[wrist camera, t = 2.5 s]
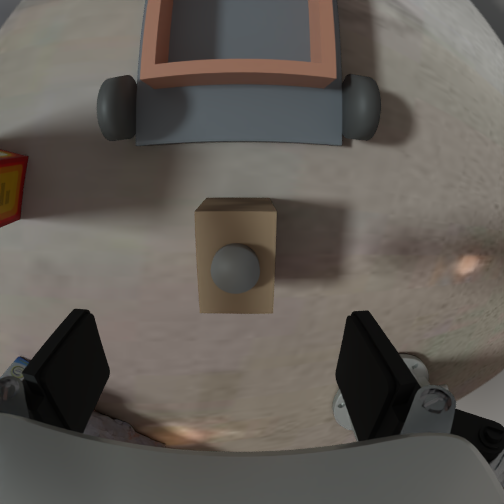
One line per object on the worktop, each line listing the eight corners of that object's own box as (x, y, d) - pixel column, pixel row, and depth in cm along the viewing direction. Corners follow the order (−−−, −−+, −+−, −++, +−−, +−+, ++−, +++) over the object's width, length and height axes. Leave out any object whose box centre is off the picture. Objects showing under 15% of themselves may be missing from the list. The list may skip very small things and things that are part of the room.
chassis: (341, -53, 16) (355, -79, 11) (355, 147, 23) (380, 146, 18) (145, -52, 15) (130, -78, 10) (123, 147, 22) (96, 147, 17)
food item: (72, 419, 33) (49, 467, 24) (80, 392, 31) (50, 446, 21) (154, 459, 35) (142, 511, 26) (172, 438, 33) (161, 498, 24)
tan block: (269, 197, 24) (278, 214, 17) (267, 278, 26) (274, 320, 19) (206, 197, 24) (191, 214, 17) (209, 278, 26) (198, 320, 19)
